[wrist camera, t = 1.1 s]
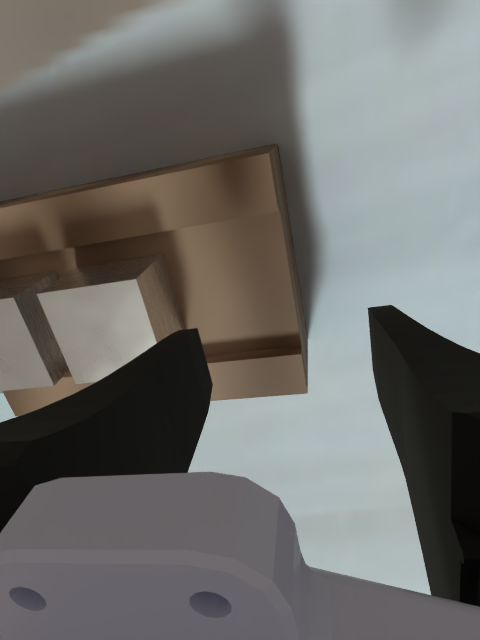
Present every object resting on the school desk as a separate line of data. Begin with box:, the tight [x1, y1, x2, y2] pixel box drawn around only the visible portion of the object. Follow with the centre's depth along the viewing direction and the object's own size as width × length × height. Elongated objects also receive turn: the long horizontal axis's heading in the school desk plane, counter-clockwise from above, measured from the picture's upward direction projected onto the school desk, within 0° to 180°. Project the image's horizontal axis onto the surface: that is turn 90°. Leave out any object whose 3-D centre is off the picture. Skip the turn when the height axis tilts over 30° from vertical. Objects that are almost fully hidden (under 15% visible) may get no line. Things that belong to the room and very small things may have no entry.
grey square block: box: [37, 253, 185, 384], centre depth 17 cm, size 4×4×3 cm
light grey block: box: [0, 271, 69, 391], centre depth 18 cm, size 4×4×3 cm
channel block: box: [0, 144, 308, 416], centre depth 20 cm, size 15×10×5 cm, turn 102°
